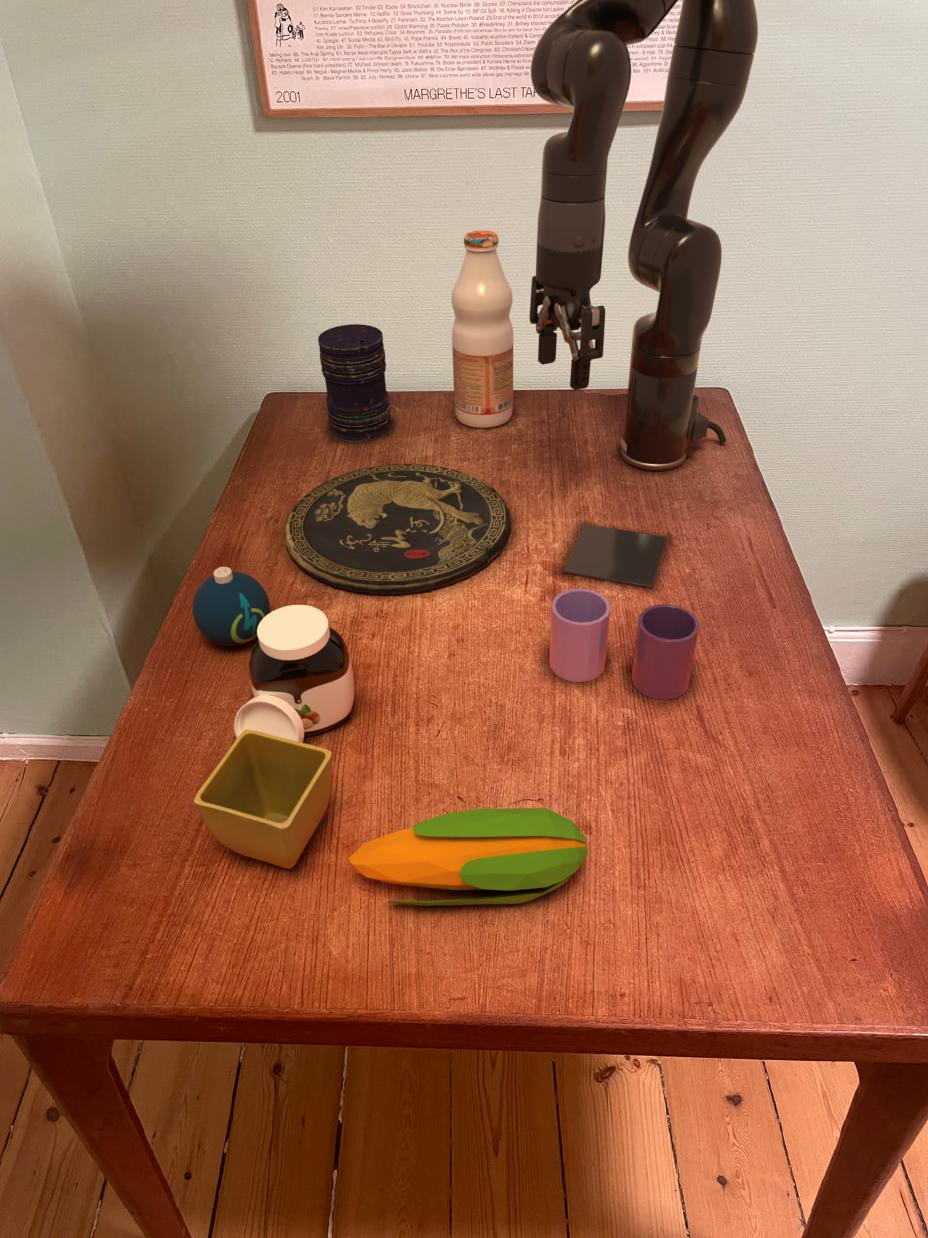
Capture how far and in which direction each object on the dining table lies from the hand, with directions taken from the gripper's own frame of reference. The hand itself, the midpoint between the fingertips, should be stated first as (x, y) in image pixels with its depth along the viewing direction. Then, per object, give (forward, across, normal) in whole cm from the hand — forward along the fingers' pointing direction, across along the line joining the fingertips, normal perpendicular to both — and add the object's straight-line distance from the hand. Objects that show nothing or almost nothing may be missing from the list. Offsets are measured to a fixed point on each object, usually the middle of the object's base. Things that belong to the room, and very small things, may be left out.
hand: (562, 374), depth 111 cm
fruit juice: (+19, +29, -2) cm, 35 cm away
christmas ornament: (+20, -9, +46) cm, 51 cm away
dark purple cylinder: (+19, +34, +17) cm, 43 cm away
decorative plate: (+20, +4, +21) cm, 29 cm away
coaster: (+19, -14, -2) cm, 24 cm away
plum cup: (+19, -36, +6) cm, 41 cm away
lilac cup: (+19, -30, +13) cm, 38 cm away
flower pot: (+20, -39, +48) cm, 65 cm away
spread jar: (+20, -26, +43) cm, 54 cm away
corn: (+20, -50, +34) cm, 64 cm away
